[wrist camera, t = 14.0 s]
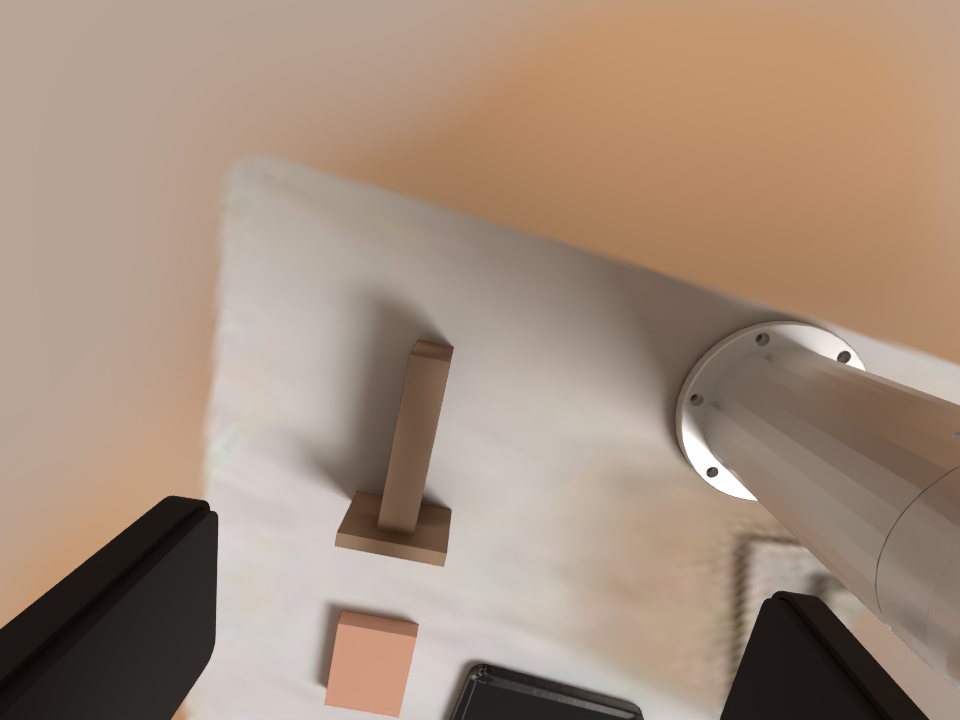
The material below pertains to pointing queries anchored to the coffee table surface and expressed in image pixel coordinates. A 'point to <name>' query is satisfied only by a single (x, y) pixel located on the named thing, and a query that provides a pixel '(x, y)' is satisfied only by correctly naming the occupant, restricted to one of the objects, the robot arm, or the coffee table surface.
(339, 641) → the tile
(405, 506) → the post on base stand
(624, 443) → the coffee table surface
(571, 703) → the phone
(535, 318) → the coffee table surface
